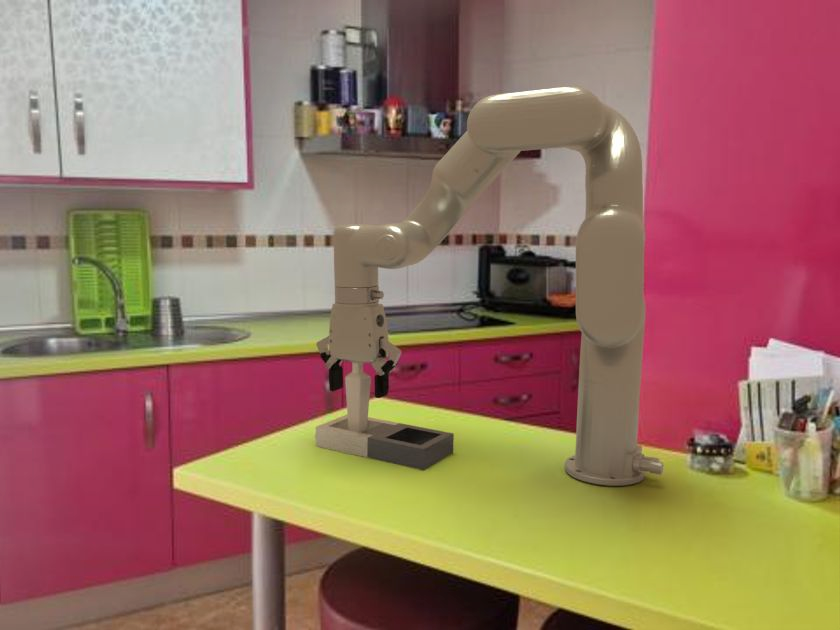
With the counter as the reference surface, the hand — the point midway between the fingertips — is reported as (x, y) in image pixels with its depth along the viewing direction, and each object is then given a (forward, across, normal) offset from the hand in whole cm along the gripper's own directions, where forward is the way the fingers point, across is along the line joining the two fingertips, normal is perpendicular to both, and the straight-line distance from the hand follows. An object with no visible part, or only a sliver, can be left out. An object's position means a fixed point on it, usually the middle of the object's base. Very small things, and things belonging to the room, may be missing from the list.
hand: (358, 392), depth 135 cm
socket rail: (+9, -5, 0) cm, 11 cm away
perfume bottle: (+10, +1, 0) cm, 10 cm away
